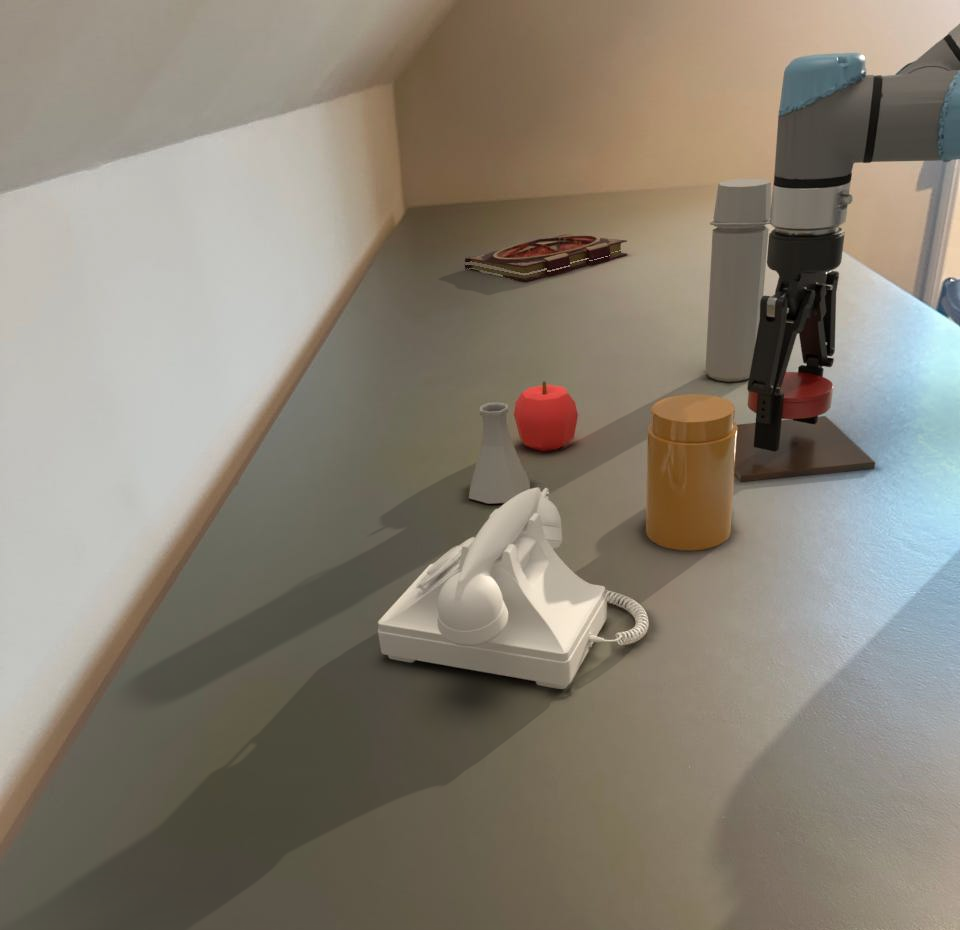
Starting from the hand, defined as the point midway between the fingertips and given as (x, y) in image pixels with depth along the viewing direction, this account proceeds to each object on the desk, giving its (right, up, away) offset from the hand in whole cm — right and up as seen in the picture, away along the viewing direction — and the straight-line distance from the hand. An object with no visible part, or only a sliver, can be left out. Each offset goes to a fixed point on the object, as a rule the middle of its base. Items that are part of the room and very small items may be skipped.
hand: (785, 434), depth 113 cm
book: (-21, +56, +95) cm, 113 cm away
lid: (0, +5, -3) cm, 5 cm away
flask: (-33, -7, -3) cm, 34 cm away
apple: (-27, 0, +8) cm, 28 cm away
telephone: (-31, -23, -27) cm, 47 cm away
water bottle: (0, +14, +26) cm, 29 cm away
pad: (0, -2, +1) cm, 2 cm away
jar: (-15, -13, -14) cm, 24 cm away
